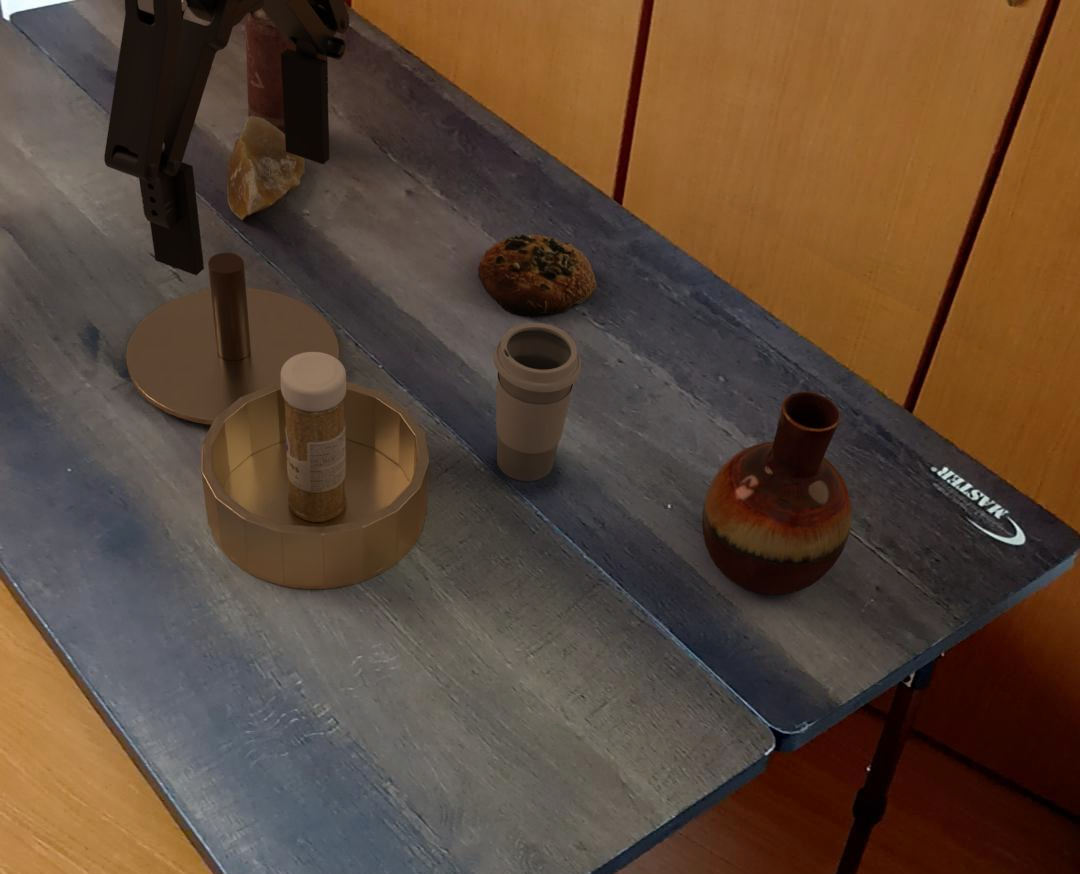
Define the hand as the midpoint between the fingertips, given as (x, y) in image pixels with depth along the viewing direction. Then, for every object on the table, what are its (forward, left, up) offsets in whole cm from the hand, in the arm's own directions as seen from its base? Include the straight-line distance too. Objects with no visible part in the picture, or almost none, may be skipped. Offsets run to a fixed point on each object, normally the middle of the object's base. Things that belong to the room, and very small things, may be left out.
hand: (247, 207), depth 78 cm
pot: (+4, +3, -29) cm, 30 cm away
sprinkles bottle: (+4, +3, -29) cm, 29 cm away
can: (+3, +56, -29) cm, 64 cm away
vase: (+38, -5, -29) cm, 48 cm away
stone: (+1, +46, -29) cm, 55 cm away
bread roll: (+26, +31, -29) cm, 50 cm away
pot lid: (-2, +21, -29) cm, 36 cm away
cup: (+21, +7, -29) cm, 37 cm away
